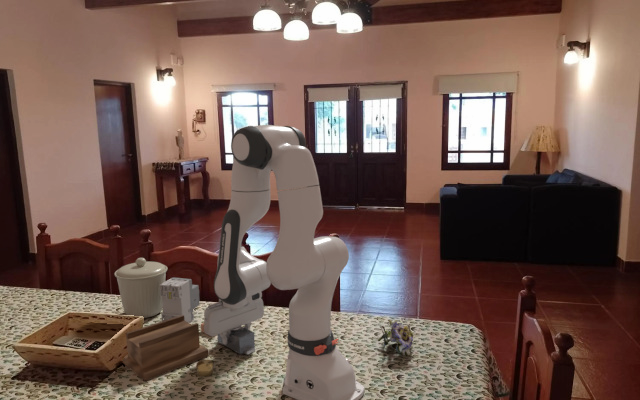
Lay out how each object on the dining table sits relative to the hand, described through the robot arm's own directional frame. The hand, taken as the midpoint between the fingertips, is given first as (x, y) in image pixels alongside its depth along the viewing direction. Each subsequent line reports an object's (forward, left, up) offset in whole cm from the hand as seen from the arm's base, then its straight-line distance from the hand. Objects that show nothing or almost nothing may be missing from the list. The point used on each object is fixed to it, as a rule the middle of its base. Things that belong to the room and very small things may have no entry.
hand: (235, 339), depth 149 cm
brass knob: (-6, +15, -3) cm, 17 cm away
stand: (+10, +19, -3) cm, 21 cm away
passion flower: (-36, -33, -3) cm, 49 cm away
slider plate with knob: (0, 0, -2) cm, 2 cm away
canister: (+47, +8, -3) cm, 48 cm away
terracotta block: (+16, -1, -3) cm, 16 cm away
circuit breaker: (+32, +1, -3) cm, 32 cm away
